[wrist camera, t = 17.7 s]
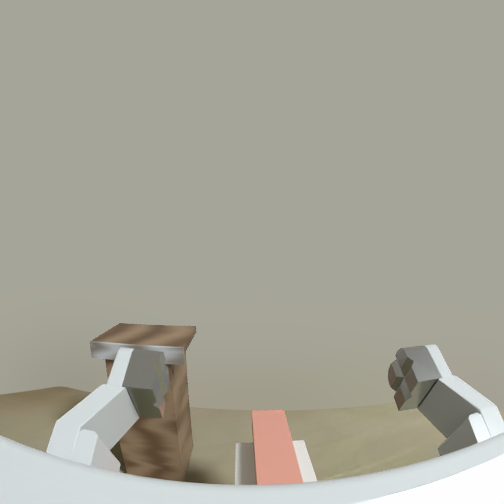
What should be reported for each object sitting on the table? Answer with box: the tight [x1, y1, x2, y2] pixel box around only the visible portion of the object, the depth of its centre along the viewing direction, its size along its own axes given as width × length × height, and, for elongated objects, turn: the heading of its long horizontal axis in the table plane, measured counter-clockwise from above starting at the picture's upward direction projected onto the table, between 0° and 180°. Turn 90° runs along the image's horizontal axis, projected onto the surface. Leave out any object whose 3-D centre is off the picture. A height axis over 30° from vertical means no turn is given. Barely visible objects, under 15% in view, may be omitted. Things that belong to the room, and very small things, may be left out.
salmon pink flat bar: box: [252, 410, 303, 485], centre depth 26 cm, size 4×22×2 cm, turn 2°
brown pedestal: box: [90, 323, 196, 482], centre depth 47 cm, size 14×13×25 cm
